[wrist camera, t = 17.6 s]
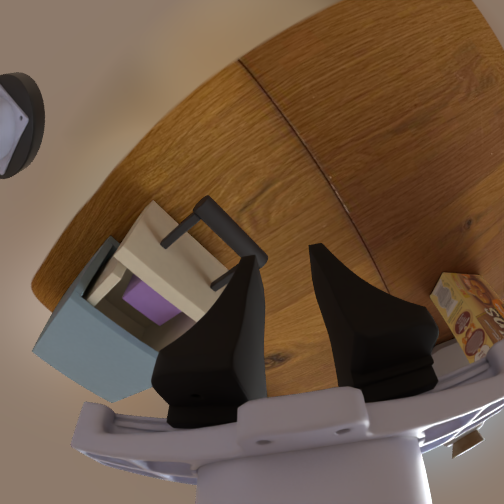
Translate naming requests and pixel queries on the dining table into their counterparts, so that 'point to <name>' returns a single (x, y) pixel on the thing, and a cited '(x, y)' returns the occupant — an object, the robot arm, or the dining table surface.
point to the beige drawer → (168, 270)
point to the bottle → (445, 362)
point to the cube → (149, 301)
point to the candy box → (470, 312)
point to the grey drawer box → (95, 341)
